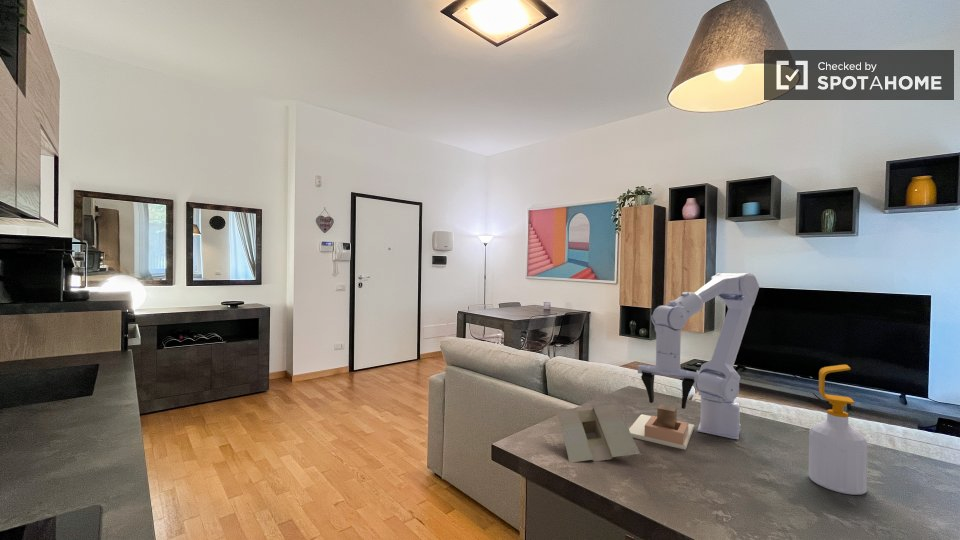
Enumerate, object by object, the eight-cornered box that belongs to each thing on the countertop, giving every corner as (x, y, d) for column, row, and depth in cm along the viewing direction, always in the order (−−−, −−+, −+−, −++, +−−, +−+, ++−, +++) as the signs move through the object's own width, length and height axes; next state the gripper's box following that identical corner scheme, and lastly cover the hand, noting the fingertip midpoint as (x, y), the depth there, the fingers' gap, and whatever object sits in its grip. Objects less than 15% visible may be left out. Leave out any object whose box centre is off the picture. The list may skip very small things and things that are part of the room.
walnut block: (676, 434, 107) (676, 407, 107) (673, 439, 103) (674, 411, 103) (659, 430, 109) (660, 404, 109) (656, 435, 106) (657, 408, 106)
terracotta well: (688, 433, 107) (688, 422, 107) (683, 445, 100) (683, 433, 100) (651, 425, 112) (651, 415, 112) (644, 436, 105) (644, 425, 105)
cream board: (694, 428, 114) (694, 424, 114) (685, 449, 100) (685, 445, 100) (641, 417, 121) (641, 414, 121) (626, 436, 107) (626, 432, 107)
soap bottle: (872, 501, 78) (874, 372, 78) (811, 487, 83) (813, 365, 83) (860, 481, 86) (862, 364, 86) (805, 469, 91) (807, 358, 91)
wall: (637, 470, 97) (617, 412, 109) (642, 453, 92) (620, 394, 103) (568, 478, 98) (555, 420, 109) (569, 462, 92) (555, 402, 103)
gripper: (635, 351, 107) (634, 403, 107) (697, 358, 99) (696, 414, 99) (641, 347, 113) (640, 396, 113) (700, 353, 105) (700, 407, 105)
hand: (667, 404), depth 106 cm, fingers open, 7 cm apart
